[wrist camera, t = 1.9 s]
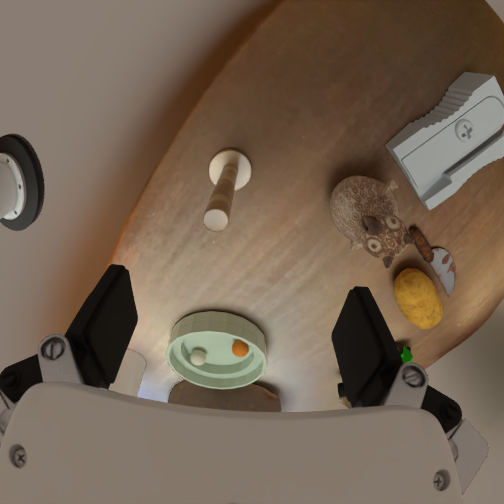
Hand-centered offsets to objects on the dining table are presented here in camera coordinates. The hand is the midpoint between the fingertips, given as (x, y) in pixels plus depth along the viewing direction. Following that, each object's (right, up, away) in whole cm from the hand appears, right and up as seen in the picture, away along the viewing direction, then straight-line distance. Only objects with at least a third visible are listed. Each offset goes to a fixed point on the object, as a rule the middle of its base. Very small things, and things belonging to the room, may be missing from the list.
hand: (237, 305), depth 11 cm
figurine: (+14, +10, +22) cm, 28 cm away
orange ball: (-1, -15, +34) cm, 37 cm away
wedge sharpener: (+28, +19, +17) cm, 38 cm away
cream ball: (-9, -17, +36) cm, 41 cm away
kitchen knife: (+33, +1, +28) cm, 43 cm away
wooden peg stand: (-2, +12, +21) cm, 24 cm away
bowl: (-6, -14, +36) cm, 40 cm away
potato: (+28, -4, +30) cm, 42 cm away
